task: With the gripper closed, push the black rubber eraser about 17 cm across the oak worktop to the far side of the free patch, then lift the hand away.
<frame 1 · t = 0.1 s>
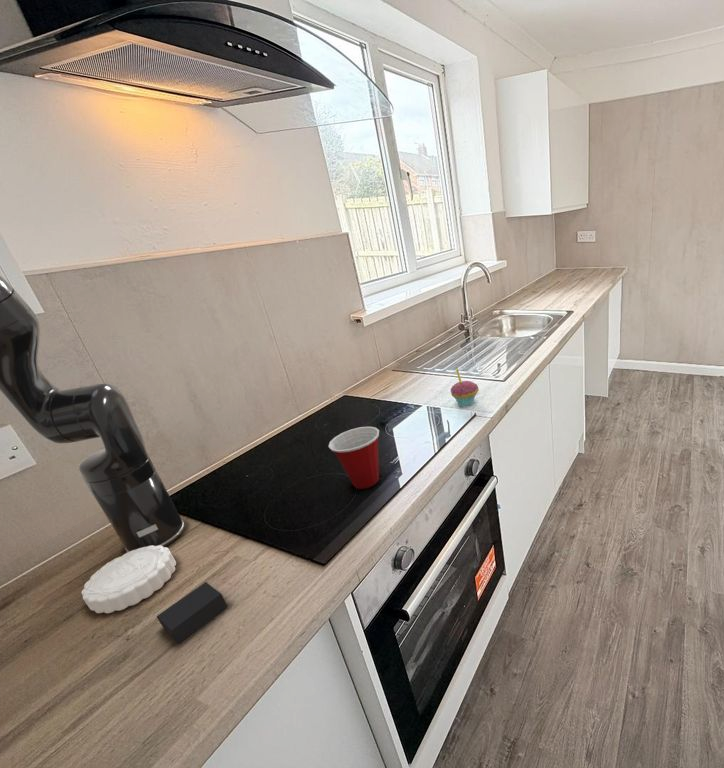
plastic cup: (366, 481, 95), on the worktop
mooncake: (135, 584, 73), on the worktop
cupcake: (466, 403, 129), on the worktop
eraser: (196, 617, 65), on the worktop
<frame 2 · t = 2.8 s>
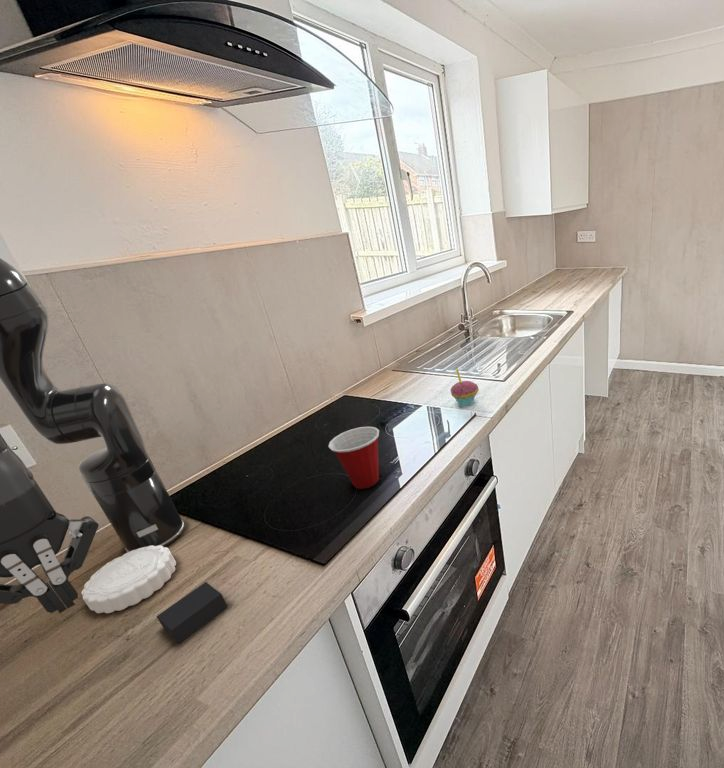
hand: (65, 606, 52), 14 cm above the worktop, tool pointing down, fingers closed
nothing on the worktop moved.
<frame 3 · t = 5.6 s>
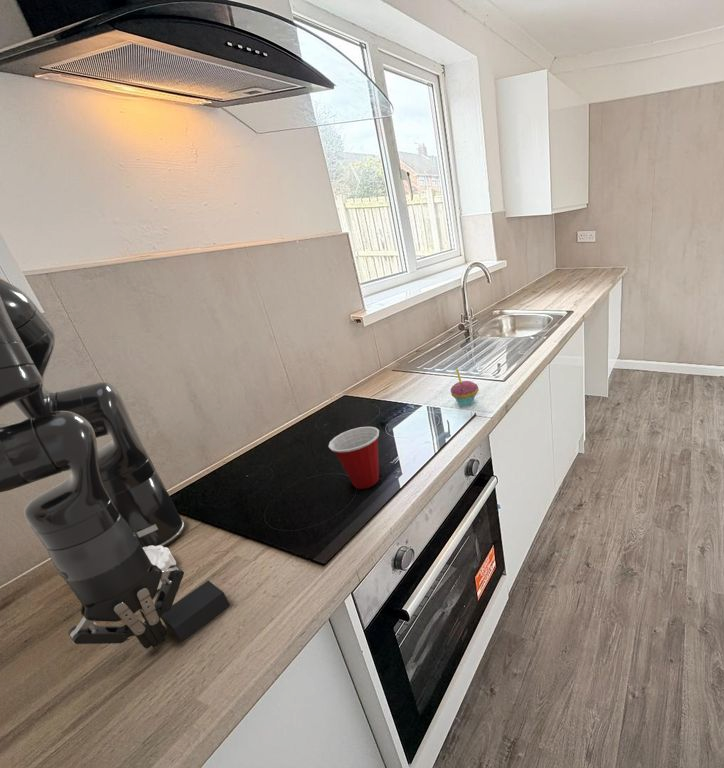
hand: (156, 642, 61), 1 cm above the worktop, tool pointing down, fingers closed
eraser: (199, 616, 66), on the worktop, touching gripper
everything else where it was.
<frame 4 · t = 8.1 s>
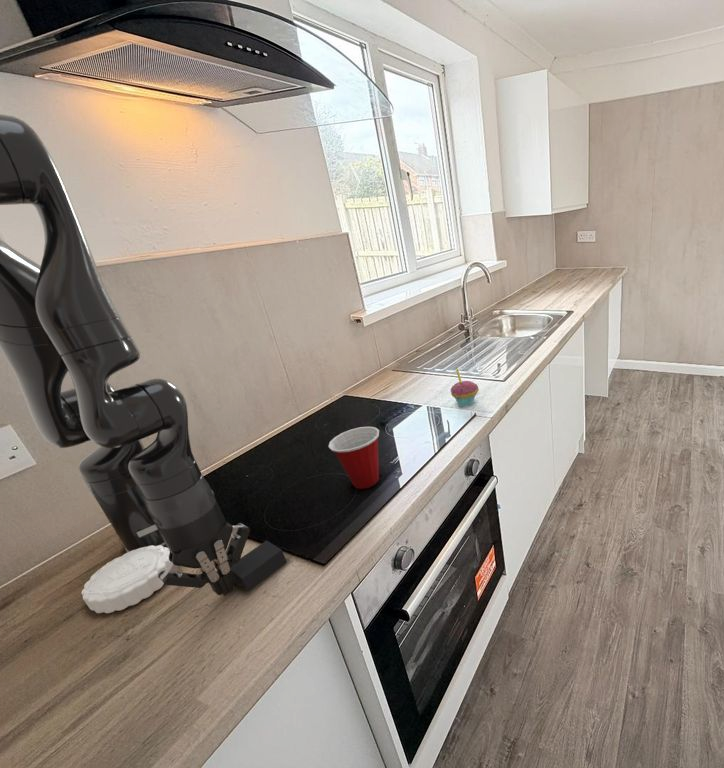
hand: (226, 590, 69), 1 cm above the worktop, tool pointing down, fingers closed
eraser: (260, 571, 73), on the worktop, touching gripper
everything else where it was.
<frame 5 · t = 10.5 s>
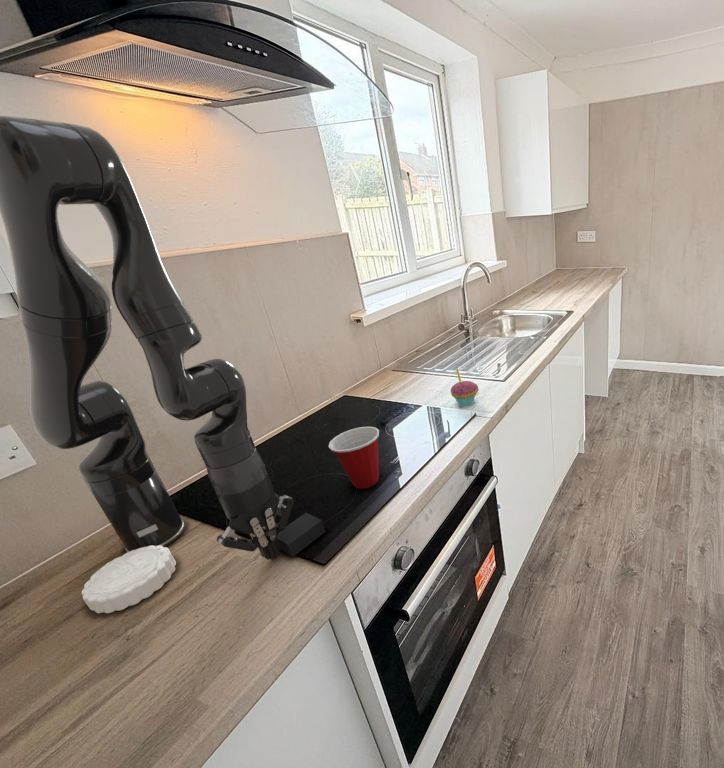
hand: (273, 556, 75), 1 cm above the worktop, tool pointing down, fingers closed
eraser: (302, 539, 80), on the worktop, touching gripper
everything else where it was.
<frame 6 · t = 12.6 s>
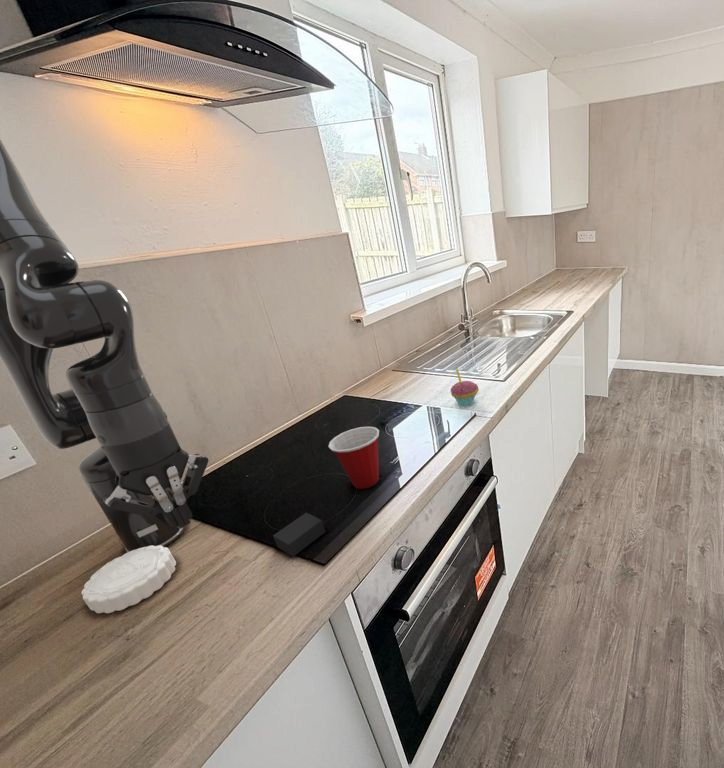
hand: (182, 524, 64), 14 cm above the worktop, tool pointing down, fingers closed
eraser: (302, 539, 80), on the worktop
everything else where it was.
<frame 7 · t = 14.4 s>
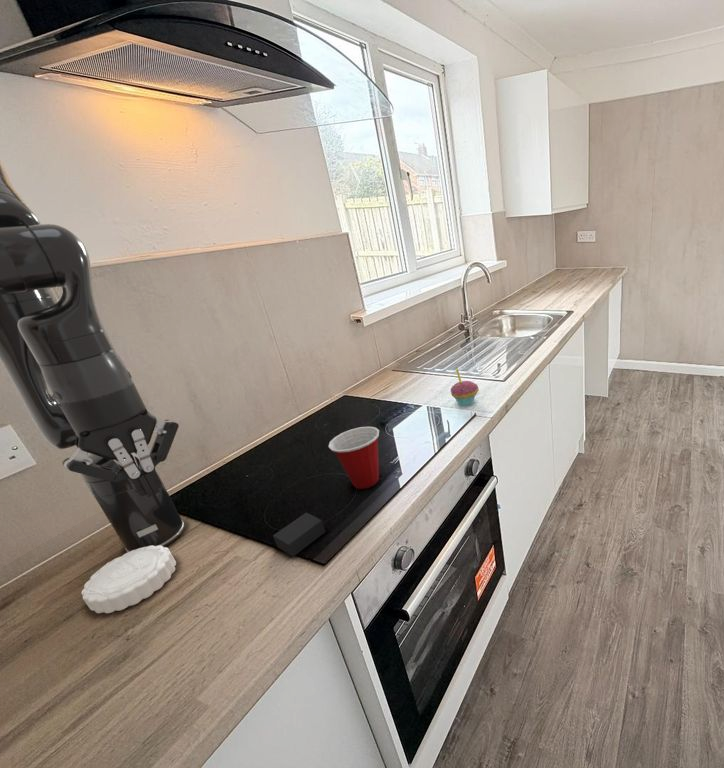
hand: (151, 493, 61), 21 cm above the worktop, tool pointing down, fingers closed
nothing on the worktop moved.
at the end: eraser inside the target area (0.4 cm from its centre), on the worktop; eraser moved 18.4 cm from its start; eraser tilted 0° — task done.
